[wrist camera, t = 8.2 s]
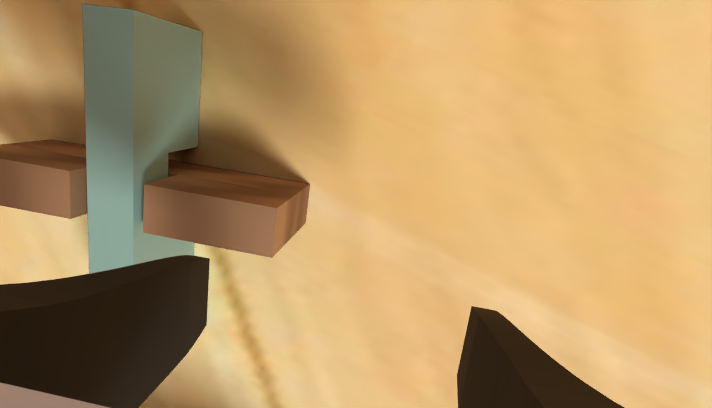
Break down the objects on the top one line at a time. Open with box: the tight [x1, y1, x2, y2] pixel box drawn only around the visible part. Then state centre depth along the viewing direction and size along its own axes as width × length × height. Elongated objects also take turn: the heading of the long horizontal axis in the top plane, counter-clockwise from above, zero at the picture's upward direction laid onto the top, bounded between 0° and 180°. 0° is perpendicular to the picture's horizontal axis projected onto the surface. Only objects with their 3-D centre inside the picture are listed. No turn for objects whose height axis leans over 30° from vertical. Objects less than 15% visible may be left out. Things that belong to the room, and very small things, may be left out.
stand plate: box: [0, 140, 310, 258], centre depth 20 cm, size 14×2×5 cm, turn 82°
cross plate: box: [82, 4, 202, 274], centre depth 20 cm, size 14×2×5 cm, turn 173°
